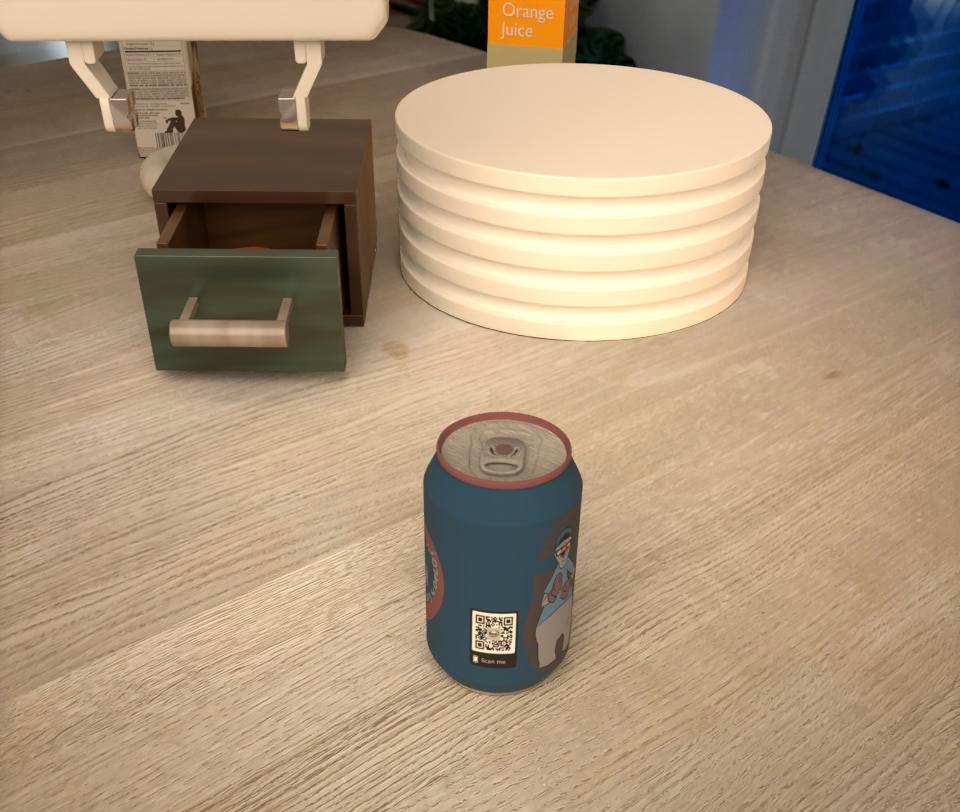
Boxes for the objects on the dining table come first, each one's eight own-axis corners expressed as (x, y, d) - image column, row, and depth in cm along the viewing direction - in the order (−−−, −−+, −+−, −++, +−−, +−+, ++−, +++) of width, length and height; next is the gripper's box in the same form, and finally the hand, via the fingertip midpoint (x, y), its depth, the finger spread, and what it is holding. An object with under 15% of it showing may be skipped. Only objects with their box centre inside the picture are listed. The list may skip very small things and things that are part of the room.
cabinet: (364, 326, 82) (355, 191, 76) (175, 325, 82) (151, 189, 76) (377, 242, 94) (371, 119, 88) (212, 241, 94) (194, 117, 88)
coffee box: (147, 129, 116) (115, -52, 105) (210, 128, 117) (185, -52, 106) (136, 158, 109) (101, -32, 98) (203, 157, 110) (176, -32, 99)
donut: (277, 191, 103) (200, 166, 108) (274, 152, 101) (195, 128, 105) (197, 224, 97) (119, 196, 101) (192, 183, 95) (111, 157, 99)
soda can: (436, 606, 58) (433, 399, 50) (570, 616, 58) (588, 409, 50) (417, 699, 53) (410, 484, 45) (564, 711, 52) (583, 496, 44)
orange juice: (573, 115, 121) (587, -105, 108) (558, 141, 115) (571, -90, 102) (502, 109, 122) (507, -109, 109) (484, 134, 116) (487, -95, 103)
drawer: (338, 412, 71) (328, 293, 66) (138, 411, 71) (113, 291, 66) (360, 281, 86) (354, 175, 81) (196, 280, 86) (179, 174, 81)
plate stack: (432, 356, 79) (430, 190, 71) (377, 211, 99) (371, 70, 92) (803, 324, 83) (838, 165, 76) (677, 191, 104) (694, 56, 96)
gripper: (389, -191, 55) (401, 110, 64) (-33, -192, 54) (40, 111, 64) (384, -177, 50) (398, 146, 59) (-78, -178, 50) (7, 148, 59)
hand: (209, 128), depth 61 cm, fingers open, 8 cm apart
